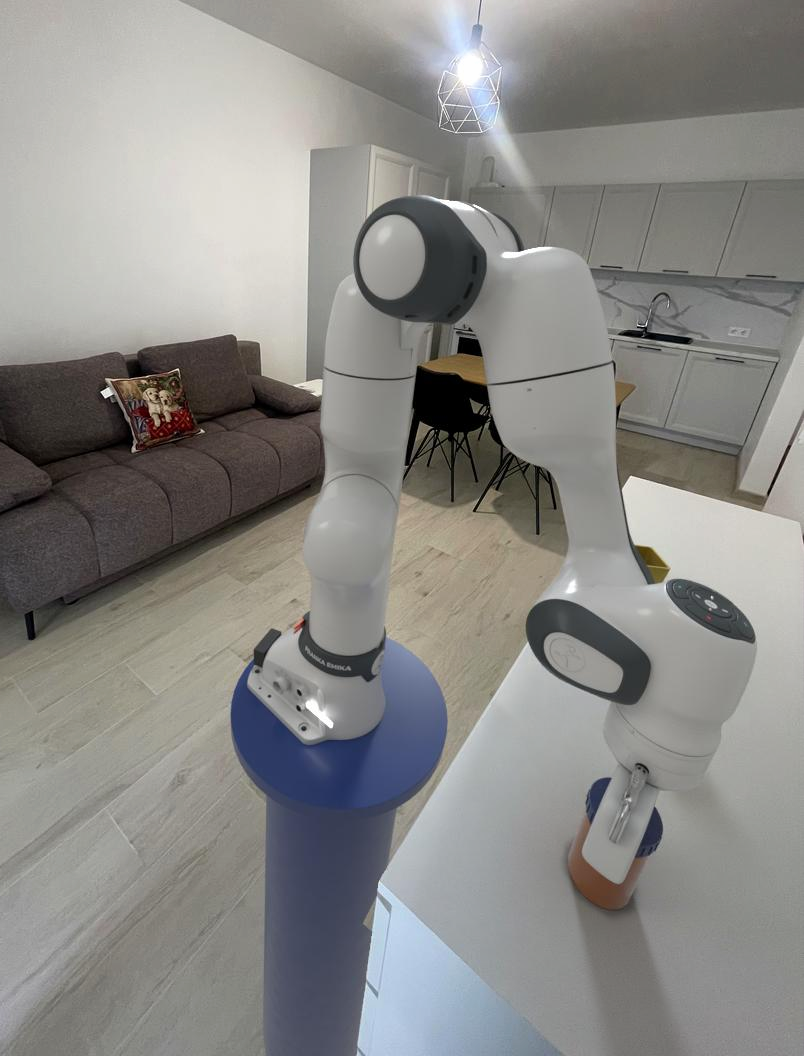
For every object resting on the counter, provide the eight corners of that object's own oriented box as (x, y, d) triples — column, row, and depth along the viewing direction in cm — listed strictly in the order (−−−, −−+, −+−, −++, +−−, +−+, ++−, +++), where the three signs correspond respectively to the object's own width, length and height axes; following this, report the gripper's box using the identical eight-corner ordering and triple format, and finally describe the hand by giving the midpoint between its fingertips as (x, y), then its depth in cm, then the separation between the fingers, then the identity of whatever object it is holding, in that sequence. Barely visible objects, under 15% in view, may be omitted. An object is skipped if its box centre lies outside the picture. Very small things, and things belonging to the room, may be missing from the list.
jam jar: (562, 883, 55) (585, 822, 52) (573, 831, 61) (594, 772, 57) (627, 925, 52) (657, 862, 48) (632, 866, 57) (660, 806, 54)
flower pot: (640, 579, 113) (652, 546, 110) (658, 604, 105) (671, 568, 102) (601, 575, 114) (611, 541, 110) (616, 599, 106) (628, 563, 102)
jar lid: (656, 874, 48) (661, 862, 48) (579, 828, 52) (583, 817, 51) (660, 812, 54) (665, 801, 53) (590, 775, 58) (594, 764, 57)
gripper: (666, 842, 39) (618, 941, 44) (710, 697, 54) (671, 784, 59) (585, 786, 43) (550, 883, 48) (647, 664, 57) (614, 749, 62)
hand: (616, 828), depth 53 cm, fingers open, 8 cm apart
